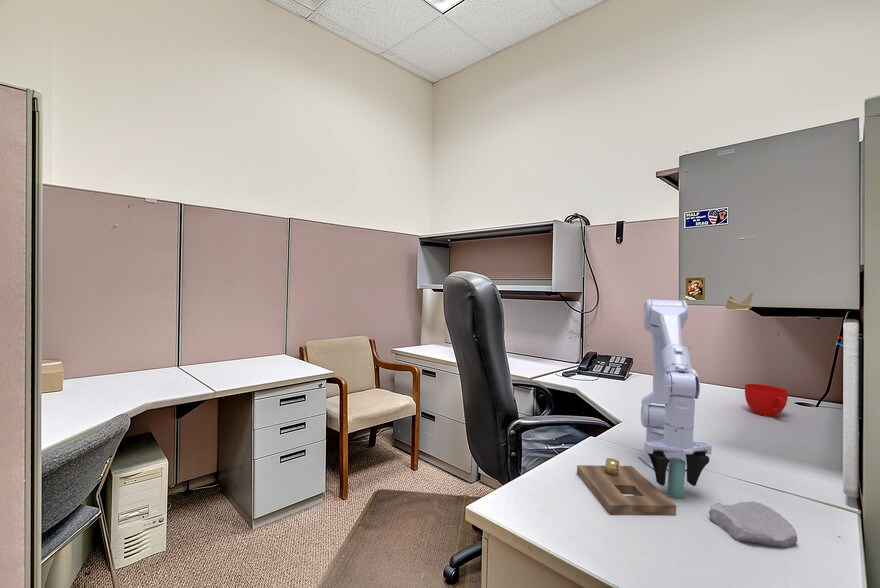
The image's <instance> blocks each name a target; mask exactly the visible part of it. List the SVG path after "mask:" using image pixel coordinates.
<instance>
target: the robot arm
mask: <svg viewBox="0 0 880 588" xmlns="http://www.w3.org/2000/svg"><path fill="white" fill-rule="evenodd" d="M643 304H644V306H643V325H644V330H646V331H648V332H649V333H650V335H651V340H652V392H651V393H650V394H648V395H645V396H644V397H643V398H642V400H641V407H640V422H641V426H643V428H645V431H646V433H645V434H646V435H645V441H644V445H643V446H644V447H643V451H645V454H638V455H637V456H638V458H639V459H641V460H642V461H643V462H644V463H646V465H647V466H649V467H650V468H651V469H652V470H654V474H655V480H656V482H657V484H659V485H660V486H662V487H664V486H665V484H666V481H667V480H666V479H667V477H666V475H667V471H668V470H669V461H670V460H669V458H671V457H674V458H679V459H682V460H684V461H685V471H686V482H687V483H688V484H690V485H691V486H692V487H695V486H696V485H697V484H698V481H699V479H700V478H699V477H700V476H701V473H702V472H703V469H705V467H706V466H707V465H708V464H709V463H710V457H709V456H708V455H712V449H713V446H712V445H710V444H709V443H707V442H700V441H694V426H695V409H696V408H695V407H696V400H698V399H699V396H700V393H701V384H700V378H699V375H698V373H697V371H696V370H695V369H693V366H692V361H691V357H690V356H691V355H690V351H689V349H688V348H687V347H685V346H684V345H683V340H682V338H683V337H682V329H683V328H684V326H685V324H686V322H687V320H688V317H689V305H688V303H687V302H686V300H683V299H680V300H672V299H671V300H666V299H665V300H664V299H651V298H647V299H646V300H645V301H644V303H643ZM656 404H658V405H656Z"/></svg>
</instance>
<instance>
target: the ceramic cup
mask: <svg viewBox="0 0 880 588" xmlns="http://www.w3.org/2000/svg"><path fill="white" fill-rule="evenodd" d="M744 396H745V401H746V403H747V405H748V407H749V408H750V409H751V410H752V411H753V413H754V414H756V415H760V416H762V417H763V416H764V417H769V418H770V417H774V418H775V417H777V416H778V415H779V414H781V413H782V411H783V410H784V409H786V408H785V407H786V406H787V402H788V396H789V391H788V390H786V389H785V388H782V387H778V386H775V385H774V386H772V385H768V384H767V385H766V384H760V383H759V384H758V383H747V384H745V385H744Z"/></svg>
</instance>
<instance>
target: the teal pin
mask: <svg viewBox="0 0 880 588" xmlns="http://www.w3.org/2000/svg"><path fill="white" fill-rule="evenodd" d="M669 460H670V461H669V470H667V471H668V473H667V475H668V476H667V492H666V493H667V495H668V496H669V497H671V498H674V499H678V500H679V499H680V500H681V499H684V495H685V494H684V492H685V476H686V474H685V472H686V470H685V461H684V460H682V459H679V458H674V457H671V458H669Z"/></svg>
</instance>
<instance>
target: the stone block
mask: <svg viewBox="0 0 880 588" xmlns="http://www.w3.org/2000/svg"><path fill="white" fill-rule="evenodd" d="M708 514H709V519H710V520H711V521H712V522H713V523H714V524H715V525H716V526H718V527H720V528H721V529H723V531H726V533H727V534H728V535H729V536H730V537H731V538H733V539H734V540H736V541H740V542H747V543H751V544H752V543H755V544H760V545H765V546H773V547H779V548H780V547H781V548H788V547H791V546H794V545H796V544H797V542H798V534H797V531H796V528H795V527H794V526H793V524H791V523H790V522H788V520H786V519H785V518H784V517H783V515H782V514H781V513H778V511H776V510H774V509H773V508H772V507H769V506H768V505H766V504H764V503H761V502H758V501H742V502H741V501H739V502H738V503H735V504H723V503H721V502H718V501H717V502H714V503H712V504H711V506H710V509H709V510H708Z"/></svg>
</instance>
